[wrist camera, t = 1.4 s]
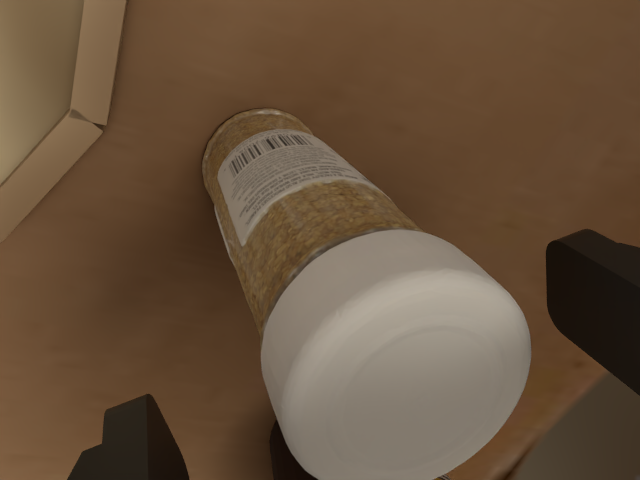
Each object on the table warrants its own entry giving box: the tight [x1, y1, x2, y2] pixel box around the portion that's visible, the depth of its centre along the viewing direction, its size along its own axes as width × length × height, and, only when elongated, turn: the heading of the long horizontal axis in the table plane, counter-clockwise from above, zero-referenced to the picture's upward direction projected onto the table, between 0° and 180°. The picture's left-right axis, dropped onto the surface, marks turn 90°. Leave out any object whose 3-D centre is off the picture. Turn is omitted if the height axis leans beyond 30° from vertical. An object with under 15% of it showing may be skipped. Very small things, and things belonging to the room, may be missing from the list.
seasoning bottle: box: [202, 108, 531, 480], centre depth 15 cm, size 5×5×14 cm
